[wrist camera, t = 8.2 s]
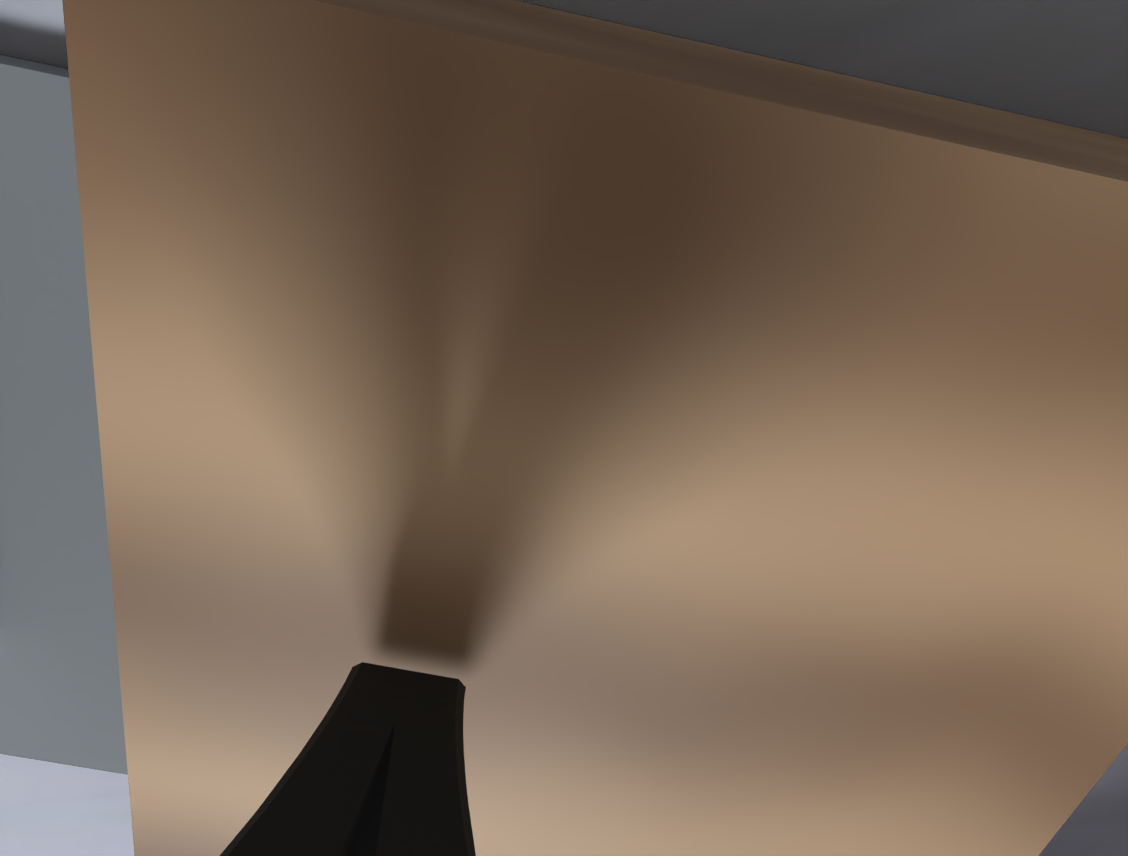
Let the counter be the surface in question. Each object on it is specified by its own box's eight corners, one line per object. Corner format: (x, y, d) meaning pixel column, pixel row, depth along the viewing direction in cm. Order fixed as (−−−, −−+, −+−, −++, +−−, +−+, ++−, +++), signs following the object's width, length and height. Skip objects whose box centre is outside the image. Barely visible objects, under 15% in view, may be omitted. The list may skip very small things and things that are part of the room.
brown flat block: (843, 874, 20) (884, 1048, 17) (215, 771, 19) (141, 936, 16) (1275, 172, 12) (1505, 266, 9) (210, -69, 11) (56, -57, 8)
